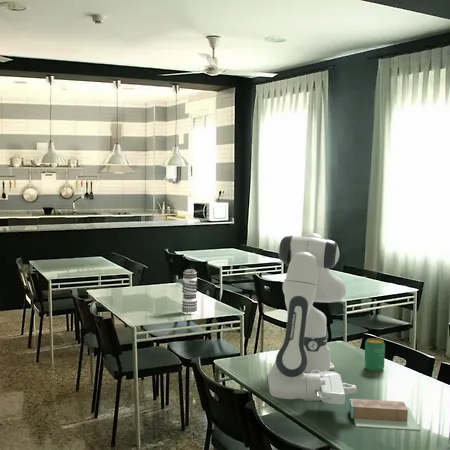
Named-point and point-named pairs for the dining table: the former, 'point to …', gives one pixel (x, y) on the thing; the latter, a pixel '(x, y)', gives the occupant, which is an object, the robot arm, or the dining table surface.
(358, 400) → the walnut block
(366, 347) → the beverage can
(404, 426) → the green mat
